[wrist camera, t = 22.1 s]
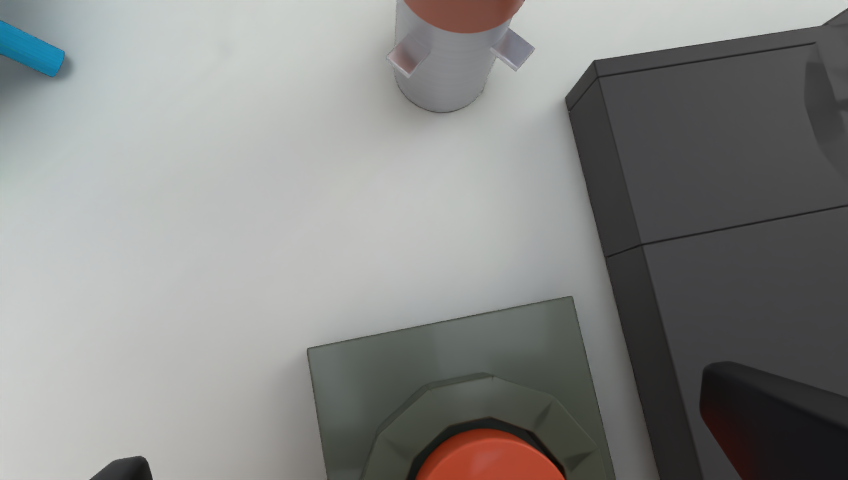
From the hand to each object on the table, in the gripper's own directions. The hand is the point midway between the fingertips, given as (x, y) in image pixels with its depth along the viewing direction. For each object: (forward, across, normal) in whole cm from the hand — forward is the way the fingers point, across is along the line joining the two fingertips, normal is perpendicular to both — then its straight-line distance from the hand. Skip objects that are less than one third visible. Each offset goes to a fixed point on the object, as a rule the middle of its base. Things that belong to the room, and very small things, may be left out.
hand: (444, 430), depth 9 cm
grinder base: (+10, -16, +3) cm, 19 cm away
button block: (+8, -2, +8) cm, 11 cm away
